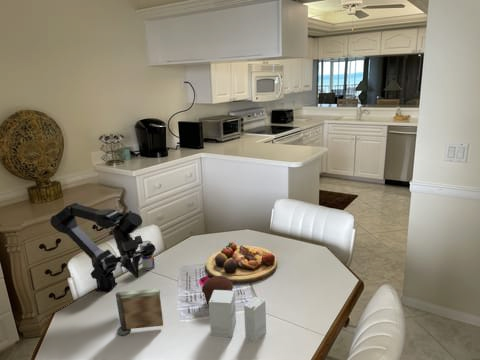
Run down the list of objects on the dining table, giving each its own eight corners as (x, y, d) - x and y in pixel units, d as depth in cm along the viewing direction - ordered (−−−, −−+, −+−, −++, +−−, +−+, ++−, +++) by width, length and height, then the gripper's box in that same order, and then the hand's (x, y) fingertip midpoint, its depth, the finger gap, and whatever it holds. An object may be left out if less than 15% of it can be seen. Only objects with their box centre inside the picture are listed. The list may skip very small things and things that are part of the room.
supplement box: (232, 337, 115) (230, 303, 112) (210, 336, 116) (207, 302, 113) (237, 322, 122) (235, 290, 119) (215, 321, 123) (213, 289, 120)
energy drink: (151, 270, 159) (148, 246, 156) (140, 270, 160) (137, 245, 157) (156, 264, 164) (153, 240, 161) (146, 264, 165) (142, 240, 162)
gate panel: (120, 330, 119) (114, 295, 116) (121, 326, 121) (116, 292, 117) (163, 326, 120) (159, 291, 117) (164, 322, 122) (159, 288, 118)
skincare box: (256, 327, 120) (254, 295, 116) (267, 332, 117) (266, 300, 113) (244, 337, 115) (242, 304, 112) (255, 343, 112) (254, 309, 109)
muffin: (220, 290, 142) (219, 267, 139) (240, 301, 134) (238, 277, 131) (196, 304, 134) (194, 280, 131) (216, 316, 126) (214, 291, 123)
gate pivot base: (120, 338, 118) (119, 335, 117) (115, 331, 121) (115, 328, 121) (133, 332, 120) (132, 329, 120) (128, 325, 123) (128, 323, 123)
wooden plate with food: (289, 258, 165) (289, 241, 163) (254, 292, 139) (253, 272, 137) (232, 245, 182) (231, 230, 180) (191, 273, 157) (189, 256, 155)
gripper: (100, 237, 124) (114, 279, 119) (151, 223, 135) (166, 261, 129) (97, 250, 133) (110, 289, 127) (145, 236, 143) (159, 271, 137)
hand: (137, 277), depth 130 cm, fingers closed
